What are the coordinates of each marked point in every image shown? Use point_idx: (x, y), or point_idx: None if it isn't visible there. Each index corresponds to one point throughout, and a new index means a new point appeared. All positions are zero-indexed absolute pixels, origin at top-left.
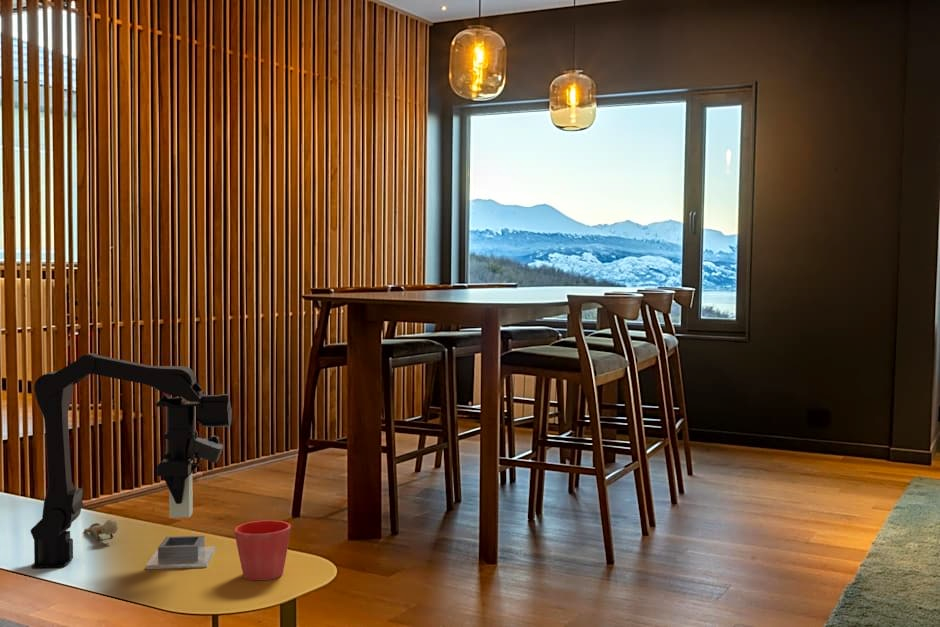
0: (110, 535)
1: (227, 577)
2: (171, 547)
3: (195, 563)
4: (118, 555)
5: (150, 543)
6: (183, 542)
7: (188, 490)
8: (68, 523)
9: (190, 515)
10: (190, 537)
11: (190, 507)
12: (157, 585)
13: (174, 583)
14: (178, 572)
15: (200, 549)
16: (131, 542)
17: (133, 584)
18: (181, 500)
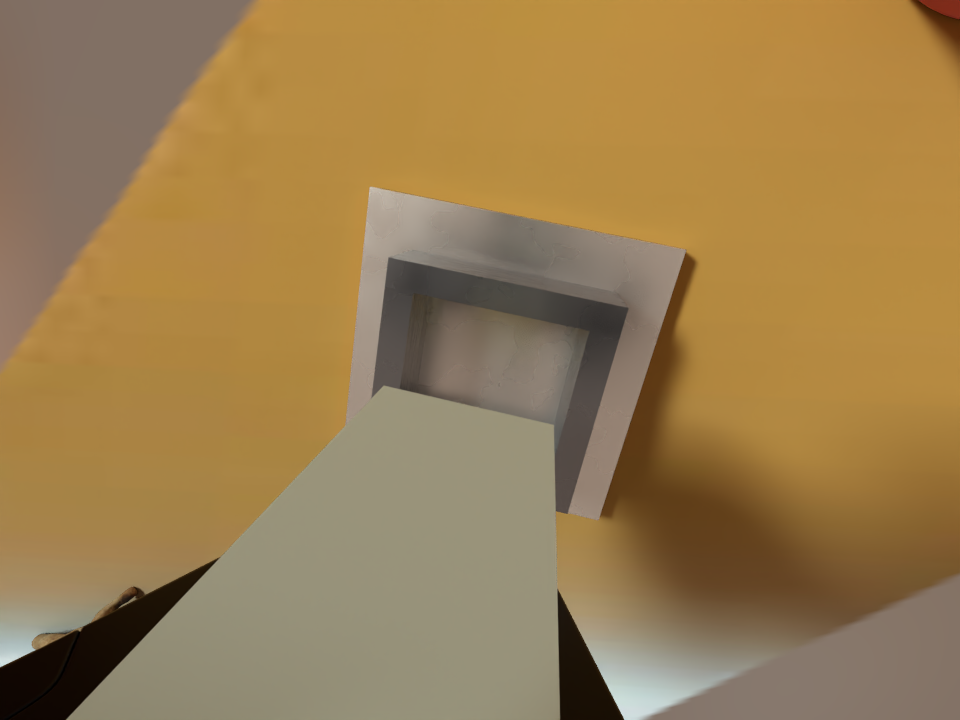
0: (127, 601)
1: (940, 133)
2: (585, 450)
3: (665, 307)
4: None
5: (219, 471)
6: (409, 369)
7: (552, 654)
8: None
9: (492, 412)
10: (407, 340)
11: (478, 447)
12: (871, 480)
13: (884, 411)
14: (707, 385)
15: (538, 281)
16: (197, 534)
17: (798, 563)
18: (571, 617)
